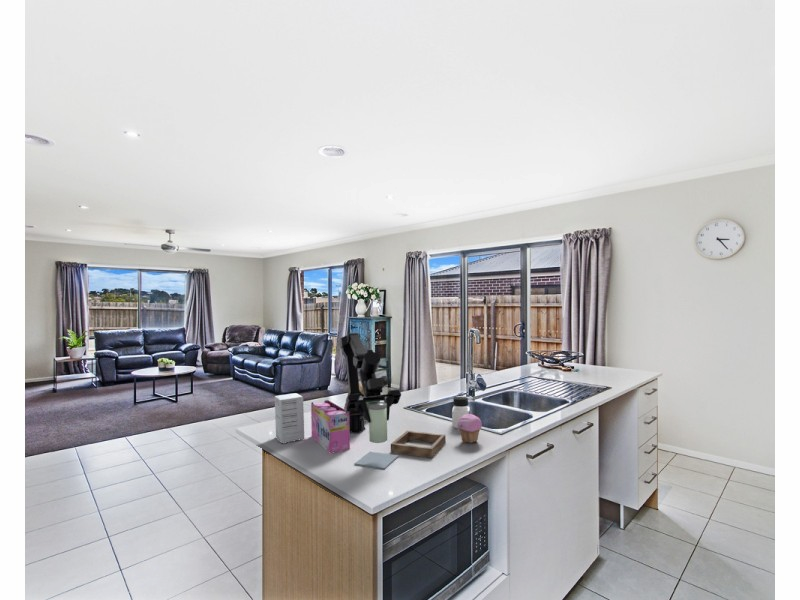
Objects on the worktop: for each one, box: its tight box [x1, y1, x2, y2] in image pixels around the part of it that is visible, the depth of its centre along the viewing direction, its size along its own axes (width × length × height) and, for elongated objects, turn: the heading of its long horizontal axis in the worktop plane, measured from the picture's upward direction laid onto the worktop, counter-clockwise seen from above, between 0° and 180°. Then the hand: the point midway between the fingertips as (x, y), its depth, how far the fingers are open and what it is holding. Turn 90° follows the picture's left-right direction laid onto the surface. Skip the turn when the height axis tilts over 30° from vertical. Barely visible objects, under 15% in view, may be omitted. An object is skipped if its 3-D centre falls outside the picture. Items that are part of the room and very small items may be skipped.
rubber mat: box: [353, 451, 400, 470], centre depth 133 cm, size 11×11×1 cm
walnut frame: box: [390, 430, 447, 459], centre depth 144 cm, size 15×15×3 cm
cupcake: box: [458, 413, 483, 444], centre depth 149 cm, size 9×9×10 cm
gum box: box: [310, 399, 351, 454], centre depth 153 cm, size 24×8×14 cm, turn 30°
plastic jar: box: [368, 401, 388, 444], centre depth 133 cm, size 6×6×12 cm
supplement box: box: [274, 392, 305, 444], centre depth 158 cm, size 10×9×17 cm
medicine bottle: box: [451, 395, 471, 429], centre depth 169 cm, size 7×7×12 cm
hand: (379, 421), depth 132 cm, fingers closed on plastic jar, 6 cm apart
